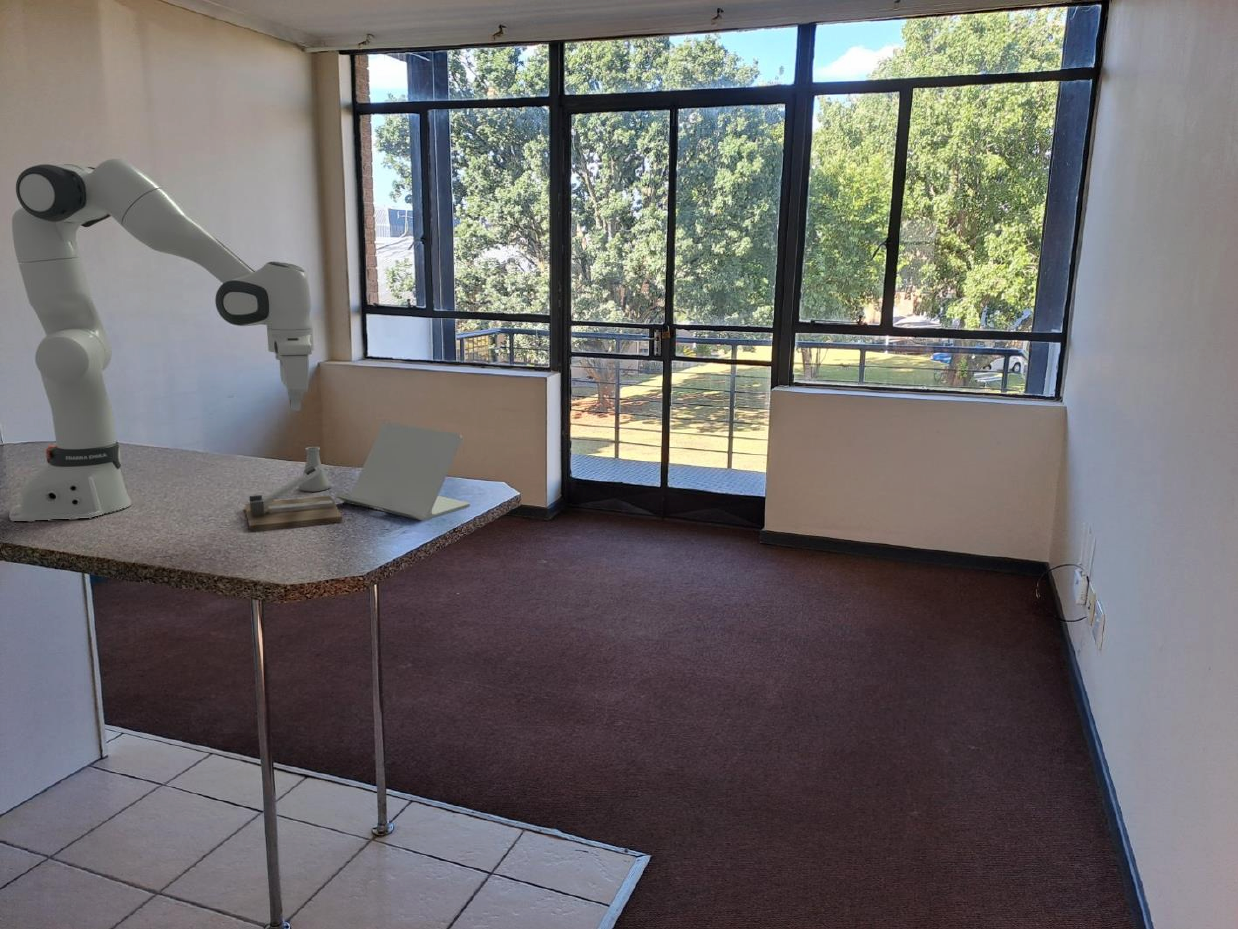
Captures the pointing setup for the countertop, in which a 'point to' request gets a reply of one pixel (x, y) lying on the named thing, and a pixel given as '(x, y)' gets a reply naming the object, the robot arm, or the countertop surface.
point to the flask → (319, 480)
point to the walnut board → (293, 515)
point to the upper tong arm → (291, 485)
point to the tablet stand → (407, 473)
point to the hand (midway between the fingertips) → (295, 408)
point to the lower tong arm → (284, 506)
